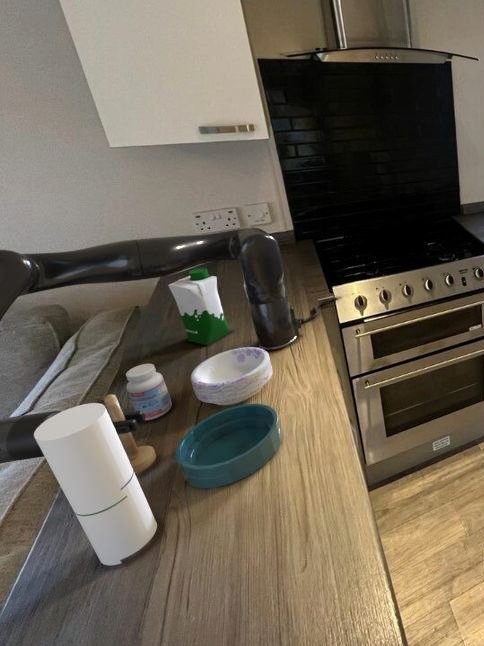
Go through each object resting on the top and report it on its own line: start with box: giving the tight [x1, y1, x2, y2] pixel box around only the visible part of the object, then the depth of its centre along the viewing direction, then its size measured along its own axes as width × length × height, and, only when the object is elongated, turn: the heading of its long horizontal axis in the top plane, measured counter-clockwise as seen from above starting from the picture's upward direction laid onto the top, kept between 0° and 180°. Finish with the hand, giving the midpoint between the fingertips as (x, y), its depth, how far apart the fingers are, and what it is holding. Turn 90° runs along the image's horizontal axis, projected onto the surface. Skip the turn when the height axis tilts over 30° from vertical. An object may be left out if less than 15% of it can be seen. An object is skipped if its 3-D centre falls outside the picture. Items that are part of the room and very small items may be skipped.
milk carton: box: [167, 267, 231, 346], centre depth 122 cm, size 9×9×20 cm
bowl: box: [174, 403, 283, 489], centre depth 86 cm, size 16×16×6 cm
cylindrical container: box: [34, 402, 158, 566], centre depth 66 cm, size 7×7×25 cm
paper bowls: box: [190, 346, 274, 406], centre depth 102 cm, size 15×15×8 cm
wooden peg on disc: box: [103, 393, 157, 475], centre depth 81 cm, size 6×6×17 cm
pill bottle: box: [125, 363, 173, 421], centre depth 96 cm, size 6×6×11 cm
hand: (139, 420), depth 81 cm, fingers closed on wooden peg on disc
